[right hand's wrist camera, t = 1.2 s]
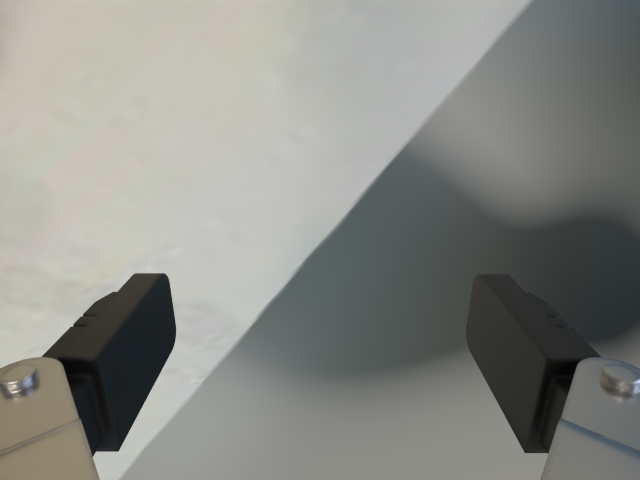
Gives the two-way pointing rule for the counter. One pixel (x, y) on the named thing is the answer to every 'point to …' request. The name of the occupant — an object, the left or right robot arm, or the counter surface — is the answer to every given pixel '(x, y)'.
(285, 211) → the counter surface
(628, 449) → the right robot arm
